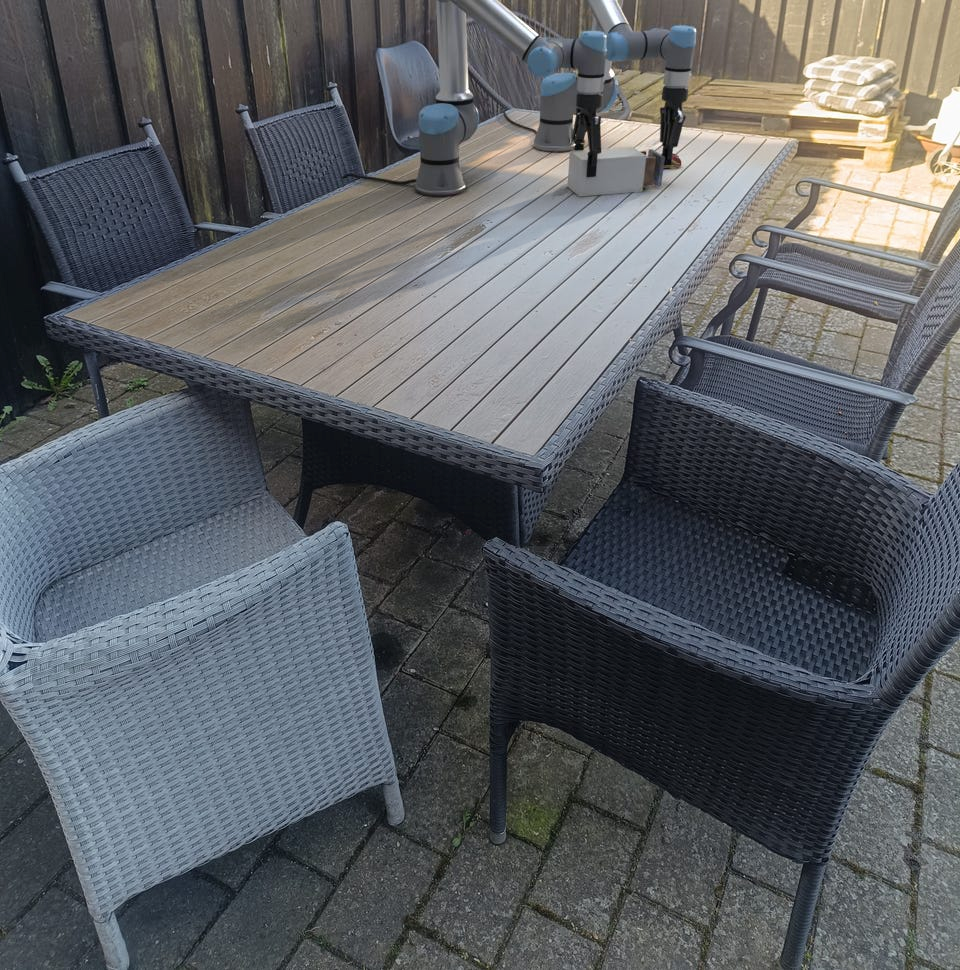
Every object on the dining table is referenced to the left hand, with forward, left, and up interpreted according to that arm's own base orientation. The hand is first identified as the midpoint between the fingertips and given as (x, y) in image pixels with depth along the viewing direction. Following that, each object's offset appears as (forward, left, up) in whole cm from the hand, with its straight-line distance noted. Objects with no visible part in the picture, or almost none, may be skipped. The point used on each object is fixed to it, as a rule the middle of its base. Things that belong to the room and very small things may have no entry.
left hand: (584, 171), depth 254 cm
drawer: (+10, +14, -5) cm, 18 cm away
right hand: (+16, +21, -1) cm, 27 cm away
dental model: (+7, +42, -6) cm, 43 cm away
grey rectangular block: (+4, +6, -6) cm, 9 cm away
